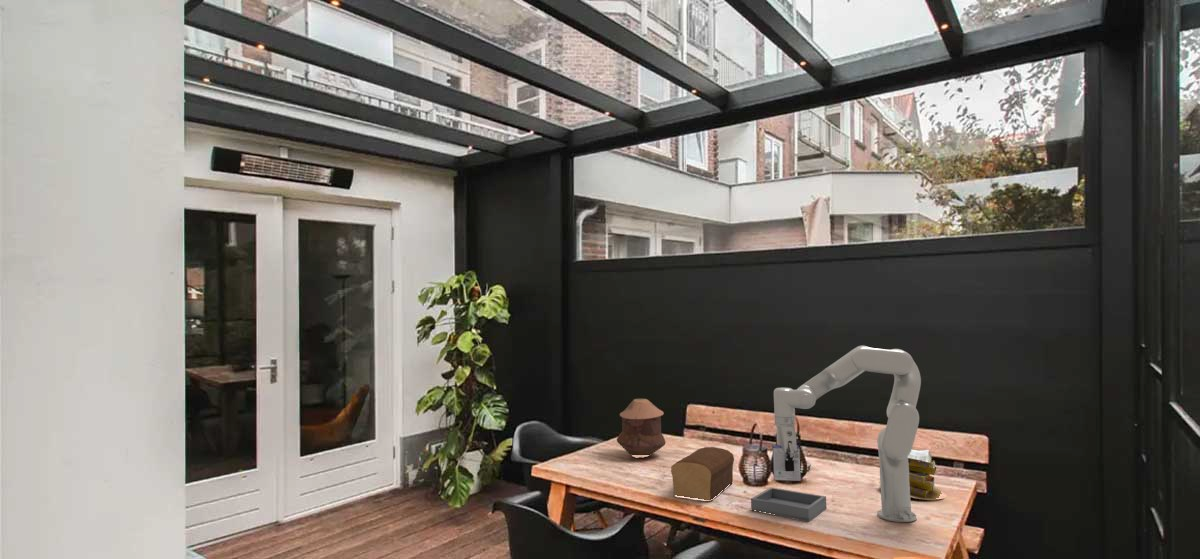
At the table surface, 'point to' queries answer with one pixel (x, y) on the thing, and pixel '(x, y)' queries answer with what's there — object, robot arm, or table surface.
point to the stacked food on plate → (922, 475)
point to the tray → (789, 503)
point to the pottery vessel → (641, 428)
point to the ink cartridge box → (780, 465)
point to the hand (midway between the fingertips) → (786, 468)
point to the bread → (703, 473)
